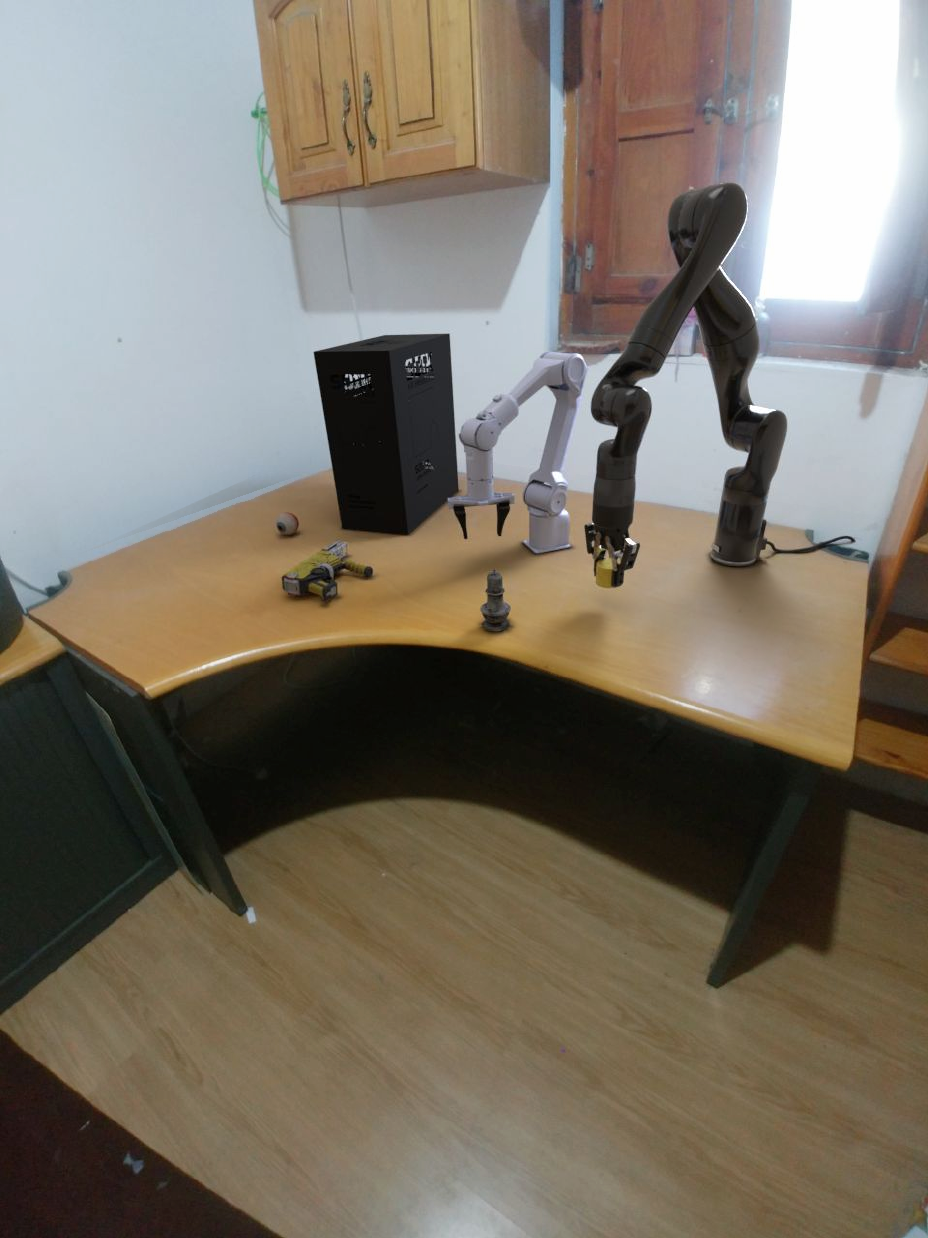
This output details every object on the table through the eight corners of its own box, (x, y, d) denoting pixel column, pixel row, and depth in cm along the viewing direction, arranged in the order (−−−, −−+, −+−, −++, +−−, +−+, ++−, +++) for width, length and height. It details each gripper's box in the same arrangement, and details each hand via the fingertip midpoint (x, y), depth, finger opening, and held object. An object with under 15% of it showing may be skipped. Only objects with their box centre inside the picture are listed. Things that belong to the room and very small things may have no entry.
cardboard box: (400, 486, 197) (384, 334, 175) (458, 490, 190) (449, 333, 168) (342, 528, 167) (313, 351, 144) (408, 534, 160) (389, 350, 138)
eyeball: (273, 537, 164) (268, 516, 161) (287, 528, 169) (282, 508, 166) (291, 539, 161) (286, 518, 158) (305, 530, 166) (301, 510, 163)
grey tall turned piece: (508, 633, 114) (507, 576, 108) (478, 631, 116) (475, 574, 110) (512, 617, 119) (512, 562, 113) (483, 615, 120) (481, 561, 114)
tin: (621, 587, 118) (623, 568, 116) (597, 588, 118) (598, 569, 116) (617, 577, 122) (618, 558, 120) (593, 577, 122) (595, 559, 120)
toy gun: (389, 548, 145) (334, 537, 149) (339, 588, 125) (277, 575, 129) (389, 566, 147) (335, 555, 151) (340, 608, 127) (279, 595, 131)
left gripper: (447, 485, 126) (451, 545, 132) (516, 479, 126) (517, 540, 133) (445, 475, 132) (449, 533, 138) (511, 470, 132) (511, 528, 139)
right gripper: (656, 505, 107) (647, 590, 116) (605, 484, 118) (600, 563, 127) (623, 513, 104) (616, 600, 113) (574, 492, 115) (570, 572, 124)
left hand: (482, 536), depth 136 cm, fingers open, 7 cm apart
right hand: (607, 580), depth 120 cm, fingers closed on tin, 4 cm apart
